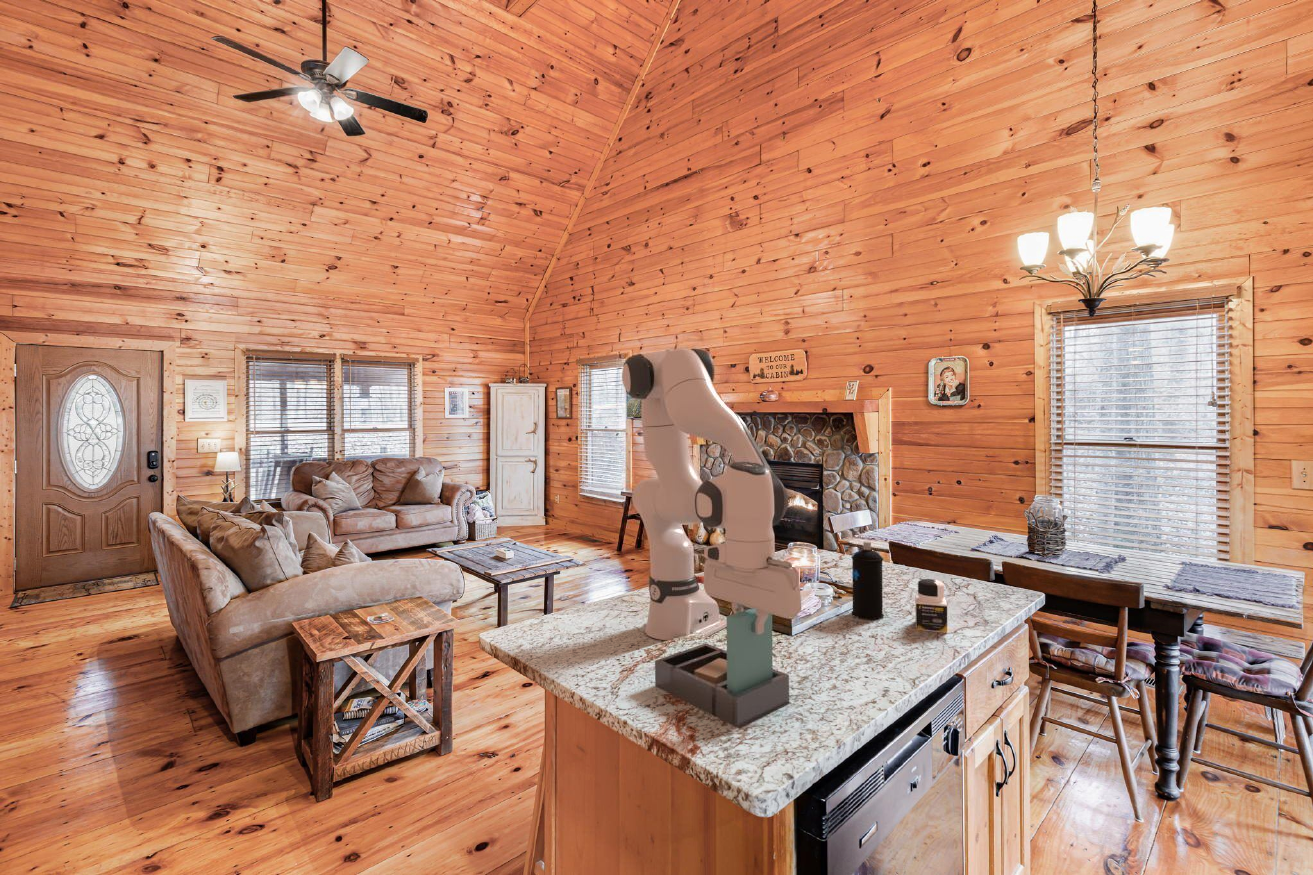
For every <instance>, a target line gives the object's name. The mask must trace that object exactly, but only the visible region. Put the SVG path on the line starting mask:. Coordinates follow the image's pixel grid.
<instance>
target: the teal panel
mask: <svg viewBox="0 0 1313 875" xmlns="http://www.w3.org/2000/svg"><path fill="white" fill-rule="evenodd" d="M757 618H758V615H756V609H753V608H748V609H746V610H744V611H742V612H739V613H736V614H734V613H732V614H730V615H727V616H726V620H727V627H726V651H727V690H728V691H731V692H733V693H735V694H738V693H741V692H743V691H745V690H747V689H750V688H752V687H754V686H757V685H759V684H761V683H763V682H766V681H768V680H770V679H772V678H773V669H774V668H773V667H774V666H773V614H770V613H769V616H768V618H767V619H766V621H765V623H764V632H763V633H761V634H756V633H753V632H752V631H751V629H752V627H751V623H753V622H756V620H757Z"/></svg>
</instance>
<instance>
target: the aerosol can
mask: <svg viewBox="0 0 1313 875" xmlns="http://www.w3.org/2000/svg"><path fill="white" fill-rule="evenodd" d="M862 543H863V547H862V549H860V550H858V551H856V552H854V554H853V555H851V559H852V562H851V563H852V565H851V568H852V611H851V614H852V616H853V615H854V616H853V617H855V618H857V617H858V618H857V619H862V620H870V621H875V620H876V619H877V620H880V619H883V618H884V616H885V615H884V613H883V612H884V611H883V610H884V609H883V608H884V606H883V601H884V600H883V599H884V598H883V560H884V558H883V557H882V555H880V554H879V553H878V552H877V551H876V550H875V551H874V550H873V549H872V542H871V541H863V542H862ZM877 620H876V621H877Z"/></svg>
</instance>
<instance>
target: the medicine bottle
mask: <svg viewBox="0 0 1313 875" xmlns="http://www.w3.org/2000/svg"><path fill="white" fill-rule="evenodd" d="M914 605H915V607H914V608H915V610H914V611H915V612H914V613H915V619H914V620H915V629H916V630H917V631H924V632H932V633H940V634H941V633H942V634H943V633H944V634H947V633H948V603H947V601H946V597H945V583H943V582H942V581H940V580H937V579H933V578H924V579H920V580H918V581H917V594H916V595H915V604H914Z"/></svg>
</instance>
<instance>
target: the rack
mask: <svg viewBox="0 0 1313 875" xmlns="http://www.w3.org/2000/svg"><path fill="white" fill-rule="evenodd" d="M718 658H721V659H724V660H727V650H725V649H721V648H720V647H717V646H714V645H712V644H709V643H703V644H699V645H697V646H694V647H691V648H688V649H686V650H682V651H679V652H677V653H673V654H671V655H667V656H665V657H662V658H659V659H656V660H654V678H655V684H654V685H655V686H654V687H655V688H658V689H660V690H661V691H664V692H666V693H667V694H670V695H672V696H674V697H676V698H678V699H680V700H682V701H684V702H686V703H687V704H690V705H691V706H694V707H696V708H697V709H700V710H702V711H704V712H706V713H708V714H709V715H712V716H713V717H715V718H718V719H719V720H721V721H724V722H725V723H727V724H730V725H731V726H733V727H736V728H737V729H740V730H741V729H742V728H745V727H746V726H748V725H750V724H753V723H754V722H756V721H758V720H760V719H762V718H764V717H766V716H768V715H770V714H772V713H775V712H776V711H778V710H781V709H782V708H785V707H786V706H789V705H791V704H792V702H790V675H789V674H788V673H785V672H782V671H779V670H778V669H774V668H773V678H772V679H770V680H768V681H766V682H763V683H761V684H759V685H757V686H754V687H752V688H750V689H747V690H745V691H743V692H741V693H738V694H735V693H733V692H731V691H728V690H727V680H726V681H724V682H721V683H719V684H716V685H715V684H713V683H711V682H708V681H706V680H704V679H702V678H699V677H697V676H695V675H694V671H695V670H697V669H699V668H701V667H703V666H705V665H707V664H708V663H710V662H712V661H714V660H716V659H718Z"/></svg>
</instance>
